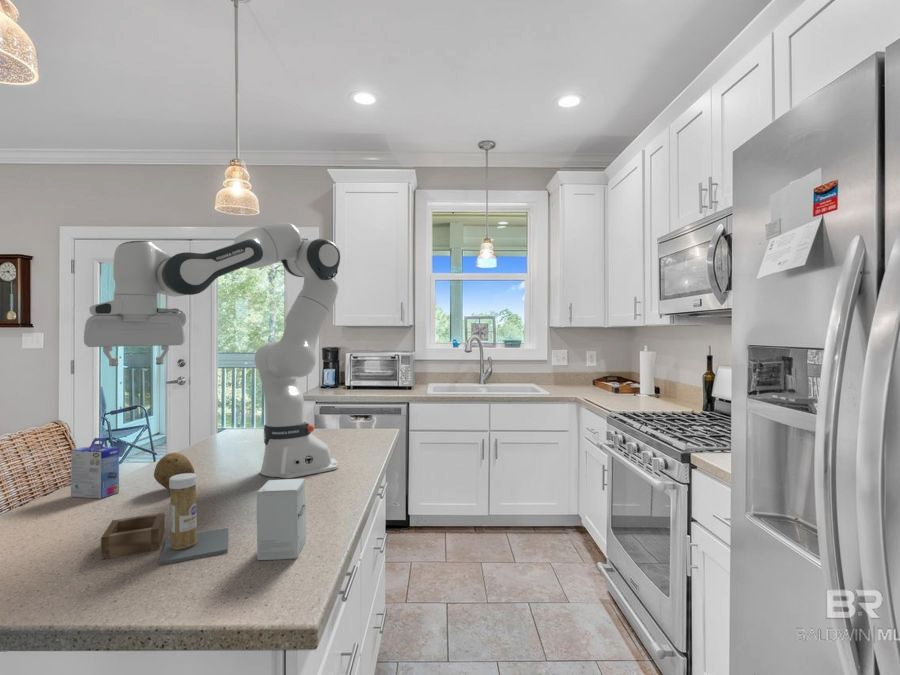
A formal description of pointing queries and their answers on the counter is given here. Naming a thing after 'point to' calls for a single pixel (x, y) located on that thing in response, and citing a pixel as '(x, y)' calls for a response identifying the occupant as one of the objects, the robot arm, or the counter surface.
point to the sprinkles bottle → (183, 511)
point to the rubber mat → (197, 547)
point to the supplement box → (281, 519)
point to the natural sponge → (171, 468)
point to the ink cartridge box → (95, 471)
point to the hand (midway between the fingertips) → (137, 365)
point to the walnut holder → (133, 535)
